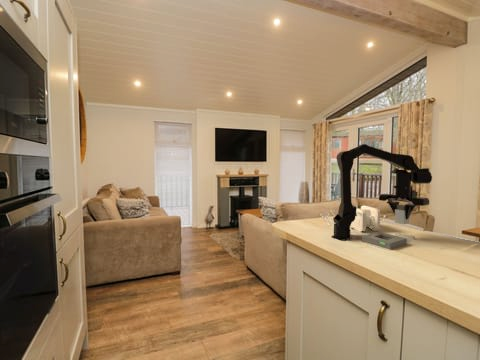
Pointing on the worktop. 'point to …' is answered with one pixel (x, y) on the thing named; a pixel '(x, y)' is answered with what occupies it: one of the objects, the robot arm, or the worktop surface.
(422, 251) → the worktop surface
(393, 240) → the socket plate
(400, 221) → the plug
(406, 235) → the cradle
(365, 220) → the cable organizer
